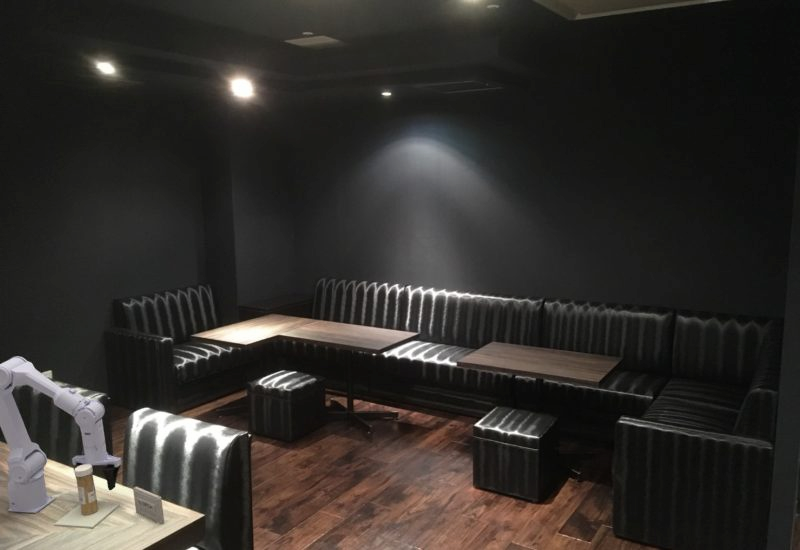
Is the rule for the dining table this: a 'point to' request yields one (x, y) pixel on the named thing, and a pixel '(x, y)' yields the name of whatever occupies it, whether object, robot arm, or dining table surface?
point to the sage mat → (87, 516)
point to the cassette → (148, 505)
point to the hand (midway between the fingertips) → (100, 487)
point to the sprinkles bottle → (86, 489)
